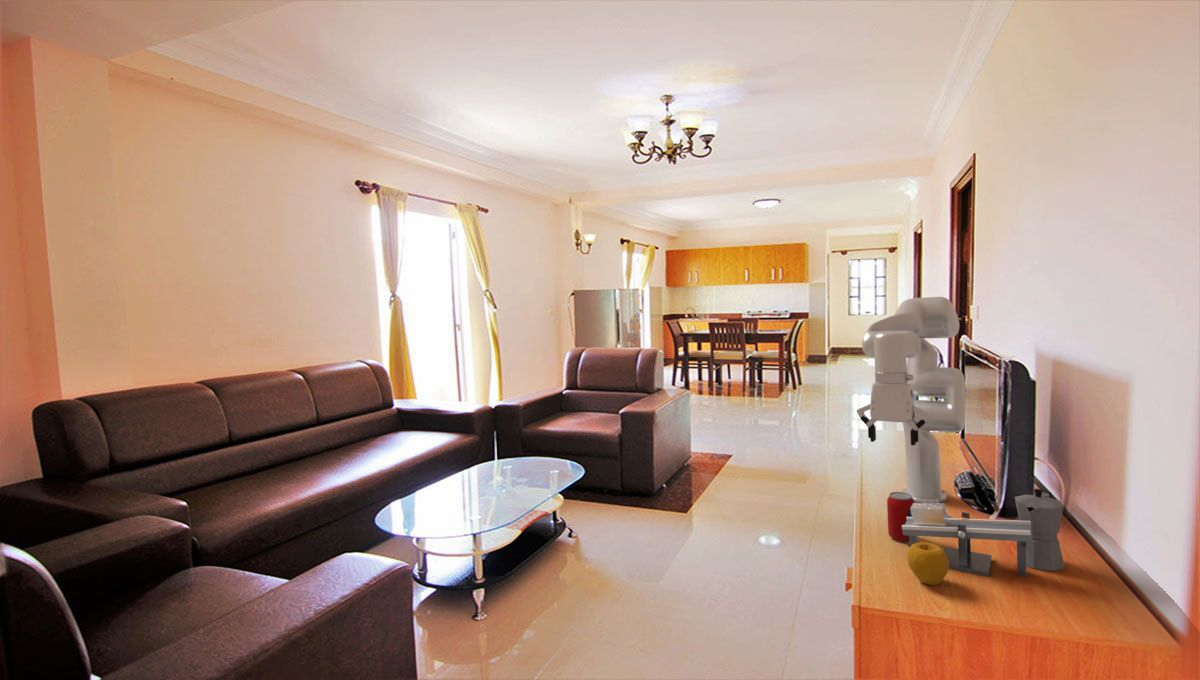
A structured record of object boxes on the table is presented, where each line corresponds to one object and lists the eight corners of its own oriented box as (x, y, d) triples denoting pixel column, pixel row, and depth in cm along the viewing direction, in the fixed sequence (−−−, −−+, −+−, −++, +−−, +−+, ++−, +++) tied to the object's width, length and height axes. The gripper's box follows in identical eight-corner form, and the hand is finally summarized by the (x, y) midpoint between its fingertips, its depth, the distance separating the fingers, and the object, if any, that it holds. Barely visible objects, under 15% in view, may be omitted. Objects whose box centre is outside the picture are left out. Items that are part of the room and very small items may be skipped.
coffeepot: (1056, 579, 124) (1054, 501, 123) (1007, 565, 131) (1004, 491, 130) (1075, 556, 133) (1073, 484, 132) (1028, 545, 140) (1026, 476, 139)
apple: (901, 572, 131) (899, 536, 131) (939, 572, 130) (938, 536, 130) (915, 590, 123) (914, 552, 123) (956, 591, 122) (955, 552, 121)
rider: (917, 521, 141) (913, 502, 142) (948, 523, 137) (944, 503, 137) (914, 527, 138) (910, 508, 138) (946, 529, 134) (942, 509, 134)
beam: (908, 525, 144) (906, 516, 144) (1032, 530, 128) (1030, 520, 128) (903, 535, 139) (901, 525, 139) (1032, 541, 122) (1029, 530, 122)
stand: (914, 543, 145) (912, 503, 145) (1026, 565, 131) (1025, 520, 130) (906, 560, 137) (904, 517, 136) (1026, 585, 122) (1024, 537, 121)
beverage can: (920, 543, 145) (918, 499, 145) (893, 543, 147) (891, 499, 146) (911, 533, 152) (909, 491, 151) (885, 532, 153) (883, 491, 152)
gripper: (930, 378, 143) (932, 443, 143) (859, 376, 154) (861, 437, 154) (926, 381, 137) (928, 448, 137) (852, 379, 148) (854, 442, 148)
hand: (893, 442), depth 146 cm, fingers open, 9 cm apart
